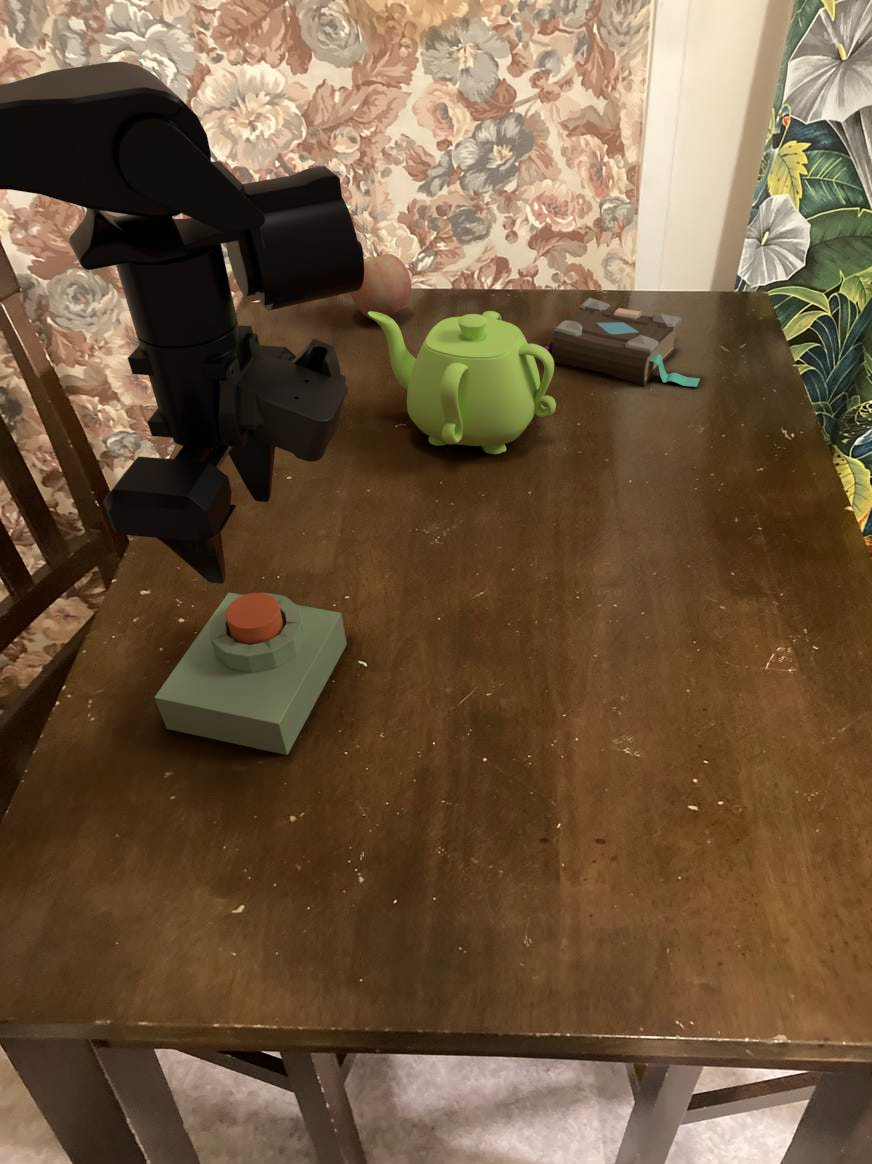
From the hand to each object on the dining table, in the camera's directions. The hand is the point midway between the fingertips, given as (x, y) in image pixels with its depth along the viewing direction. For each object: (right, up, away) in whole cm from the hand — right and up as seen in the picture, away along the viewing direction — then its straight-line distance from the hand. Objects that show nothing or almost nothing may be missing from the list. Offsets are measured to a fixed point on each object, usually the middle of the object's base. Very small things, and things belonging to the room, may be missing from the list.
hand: (241, 539), depth 63 cm
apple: (+4, +35, +55) cm, 66 cm away
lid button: (0, -6, +6) cm, 9 cm away
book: (+35, +27, +46) cm, 64 cm away
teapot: (+15, +16, +35) cm, 42 cm away
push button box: (-1, -11, +9) cm, 14 cm away
